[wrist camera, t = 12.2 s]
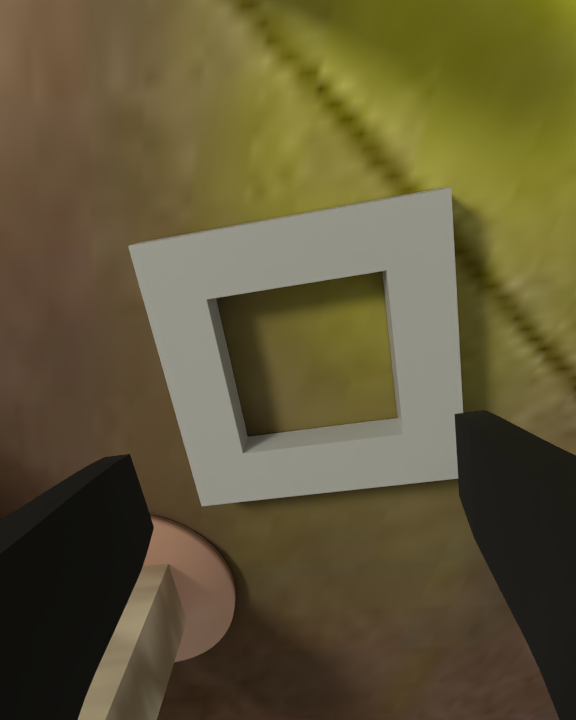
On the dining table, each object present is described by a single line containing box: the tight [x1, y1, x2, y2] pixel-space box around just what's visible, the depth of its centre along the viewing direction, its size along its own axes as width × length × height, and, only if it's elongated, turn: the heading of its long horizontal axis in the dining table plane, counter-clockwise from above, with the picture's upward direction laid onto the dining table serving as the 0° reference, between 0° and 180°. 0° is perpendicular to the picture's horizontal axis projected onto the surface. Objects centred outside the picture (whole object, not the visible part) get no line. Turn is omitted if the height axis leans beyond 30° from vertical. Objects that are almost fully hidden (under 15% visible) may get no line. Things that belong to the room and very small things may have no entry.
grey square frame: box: [128, 188, 463, 506], centre depth 19 cm, size 12×12×2 cm
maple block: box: [78, 564, 187, 720], centre depth 21 cm, size 4×4×8 cm
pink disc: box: [143, 515, 236, 662], centre depth 25 cm, size 10×10×1 cm
